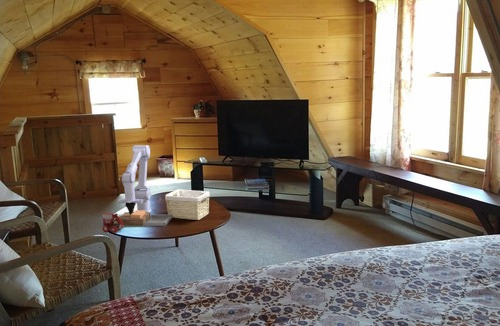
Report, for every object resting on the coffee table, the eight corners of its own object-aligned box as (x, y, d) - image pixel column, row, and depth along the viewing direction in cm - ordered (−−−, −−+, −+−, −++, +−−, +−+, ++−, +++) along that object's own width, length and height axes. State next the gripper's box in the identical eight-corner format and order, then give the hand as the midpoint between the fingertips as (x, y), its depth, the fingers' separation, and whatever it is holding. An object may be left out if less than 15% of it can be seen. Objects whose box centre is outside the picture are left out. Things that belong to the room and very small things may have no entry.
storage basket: (165, 217, 269) (163, 194, 266) (179, 210, 283) (177, 188, 280) (198, 221, 259) (197, 198, 257) (211, 213, 274) (210, 191, 271)
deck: (125, 218, 270) (125, 212, 269) (150, 218, 268) (150, 212, 267) (117, 226, 256) (116, 219, 255) (143, 225, 255) (142, 219, 254)
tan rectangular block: (136, 213, 266) (135, 210, 265) (145, 213, 265) (145, 210, 265) (130, 218, 257) (130, 214, 257) (140, 218, 256) (140, 214, 256)
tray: (151, 218, 269) (151, 214, 268) (172, 218, 267) (171, 214, 267) (143, 226, 254) (143, 222, 254) (165, 226, 253) (165, 222, 252)
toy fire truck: (119, 233, 243) (117, 215, 241) (100, 232, 246) (98, 214, 244) (126, 229, 250) (124, 212, 248) (107, 228, 253) (105, 211, 251)
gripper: (115, 194, 255) (117, 216, 258) (139, 194, 254) (141, 216, 257) (119, 191, 262) (121, 212, 265) (143, 191, 261) (144, 212, 264)
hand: (131, 214), depth 261 cm, fingers closed
